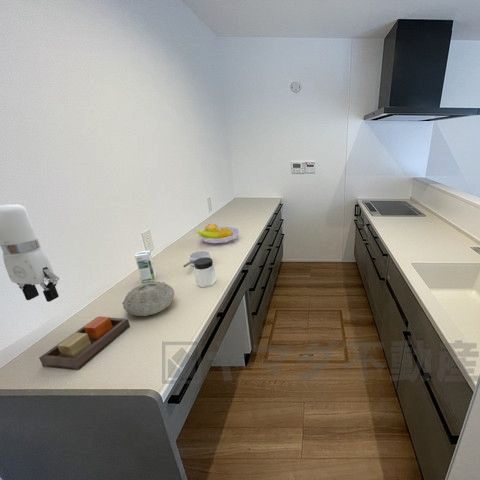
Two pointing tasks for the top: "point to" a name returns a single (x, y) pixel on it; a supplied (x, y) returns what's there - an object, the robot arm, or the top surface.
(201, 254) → the saucepan
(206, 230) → the fruit bowl
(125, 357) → the top surface
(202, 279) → the jar
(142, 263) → the syrup box
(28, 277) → the robot arm
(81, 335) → the soap bar tray
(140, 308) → the grey rounded stone
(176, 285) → the top surface
